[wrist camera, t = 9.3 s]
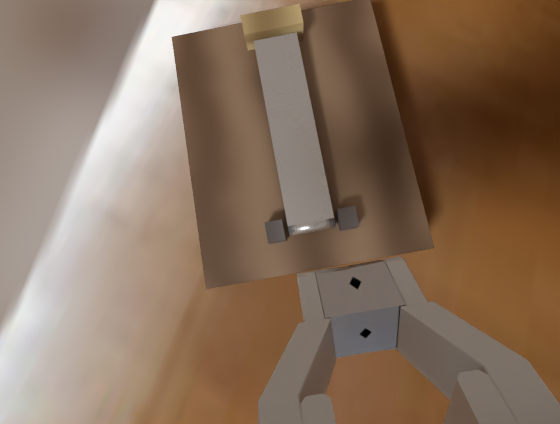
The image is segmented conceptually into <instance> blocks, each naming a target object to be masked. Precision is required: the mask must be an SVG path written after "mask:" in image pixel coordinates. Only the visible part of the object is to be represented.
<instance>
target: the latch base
mask: <svg viewBox="0 0 560 424" xmlns="http://www.w3.org/2000/svg"><path fill="white" fill-rule="evenodd" d="M241 20H242V23H239V24H234V25H229V26H224V27H219V28H214V29H209V30H204V31H199V32H194V33H189V34H184V35H179V36H174V37H172V41H173V49H174V56H175V64H176V71H177V78H178V86H179V93H180V100H181V108H182V115H183V122H184V130H185V137H186V144H187V152H188V159H189V166H190V174H191V181H192V189H193V196H194V203H195V211H196V218H197V225H198V233H199V240H200V247H201V255H202V262H203V269H204V277H205V284H206V289H210V288H215V287H221V286H226V285H232V284H238V283H243V282H249V281H254V280H260V279H265V278H271V277H276V276H282V275H288V274H293V273H299V272H304V271H310V270H315V269H321V268H326V267H332V266H338V265H343V264H349V263H354V262H360V261H365V260H371V259H376V258H382V257H388V256H393V255H399V254H404V253H410V252H415V251H421V250H426V249H432V248H434V245H433V241H432V237H431V233H430V229H429V226H428V222H427V218H426V214H425V210H424V206H423V202H422V198H421V194H420V191H419V187H418V183H417V179H416V175H415V171H414V167H413V163H412V159H411V156H410V152H409V148H408V144H407V140H406V136H405V132H404V128H403V124H402V121H401V117H400V113H399V109H398V105H397V101H396V97H395V93H394V89H393V86H392V82H391V78H390V74H389V70H388V66H387V62H386V58H385V54H384V51H383V47H382V43H381V39H380V35H379V31H378V27H377V23H376V19H375V16H374V12H373V8H372V4H371V0H353V1H348V2H343V3H338V4H333V5H328V6H323V7H318V8H313V9H308V10H303V11H301V9H300V4H295V5H290V6H285V7H280V8H275V9H270V10H265V11H260V12H255V13H251V14H246V15H241ZM296 32H297V36H298V41H299V46H300V51H301V56H302V61H303V66H304V71H305V76H306V81H307V86H308V91H309V96H310V100H311V105H312V110H313V115H314V120H315V125H316V130H317V135H318V140H319V145H320V150H321V155H322V160H323V165H324V170H325V175H326V180H327V185H328V189H329V194H330V199H331V204H332V209H333V214H334V219H335V224H336V228H331V229H325V230H320V231H314V232H309V233H303V234H298V235H292V236H289V231H288V225H287V220H286V214H285V209H284V203H283V198H282V193H281V187H280V182H279V176H278V171H277V165H276V160H275V155H274V149H273V144H272V138H271V133H270V127H269V122H268V116H267V111H266V106H265V100H264V95H263V89H262V84H261V78H260V73H259V67H258V62H257V57H256V51H255V46H254V41H256V40H261V39H266V38H271V37H276V36H281V35H286V34H291V33H296Z"/></svg>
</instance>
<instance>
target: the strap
mask: <svg viewBox="0 0 560 424" xmlns="http://www.w3.org/2000/svg"><path fill="white" fill-rule="evenodd" d="M254 46H255V51H256V57H257V62H258V67H259V73H260V78H261V84H262V89H263V95H264V100H265V106H266V111H267V116H268V122H269V127H270V133H271V138H272V144H273V149H274V155H275V160H276V165H277V171H278V176H279V182H280V187H281V193H282V198H283V203H284V209H285V214H286V220H287V225H288V231H289V236H292V235H298V234H303V233H309V232H314V231H320V230H325V229H331V228H336V224H335V219H334V214H333V209H332V204H331V199H330V194H329V189H328V185H327V180H326V175H325V170H324V165H323V160H322V155H321V150H320V145H319V140H318V135H317V130H316V125H315V120H314V115H313V110H312V105H311V100H310V96H309V91H308V86H307V81H306V76H305V71H304V66H303V61H302V56H301V51H300V46H299V41H298V36H297V32H296V33H291V34H286V35H281V36H276V37H271V38H266V39H261V40H256V41H254Z"/></svg>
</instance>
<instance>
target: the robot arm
mask: <svg viewBox="0 0 560 424" xmlns="http://www.w3.org/2000/svg"><path fill="white" fill-rule="evenodd" d="M297 280H298V287H299V293H300V300H301V306H302V313H303V319H304V322H303V323H299V324H298V326H297V328H296V330H295V331H294V333H293V335H292V337H291V339H290V341H289V343H288V345H287V347H286V349H285V351H284V353H283V355H282V357H281V359H280V361H279V362H278V364H277V366H276V368H275V370H274V372H273V374H272V376H271V378H270V380H269V382H268V384H267V386H266V388H265V390H264V392H263V394H262V395H261V397H260V399H259V401H258V418H259V424H336V422H335V417H334V412H333V407H332V402H331V398H329V397H328V396H326V395H325V393H326V390H327V387H328V384H329V381H330V378H331V375H332V372H333V369H334V366H335V363H336V358H340V357H345V356H350V355H356V354H361V353H366V352H374V351H382V350H389V349H397V351H399V352H400V353H401V354H402V355H403V356H404V357H405V358H406V359H407V360H408V361H409V362H410V363H411V364H412V365H413V366H414V367H416V368H417V369H418V370H419V371H420V372H421V373H422V374H423V375H424V376H425V377H426V378H427V379H428V380H429V381H430V382H431V383H433V384H434V385H435V386H436V387H437V388H438V389H439V390H440V391H441V392H442V393H443V394H444V395H445V396H446V397H447V398H448V399H450V404H449V407H448V410H447V414H446V417H445V420H444V423H443V424H560V404H559V403H558V401H557V400H556V399H555V397H554V396H553V394H552V393H551V392H550V390H549V389H548V388H547V386H546V385H545V383H544V382H543V381H542V379H541V378H540V376H539V375H538V374H537V372H536V371H535V370H534V368H533V367H532V365H531V364H530V363H529V361H528V360H526V359H525V358H523V357H522V356H520V355H518V354H517V353H515V352H514V351H512V350H510V349H509V348H507V347H506V346H504V345H502V344H501V343H499V342H498V341H496V340H494V339H493V338H491V337H490V336H488V335H486V334H485V333H483V332H482V331H480V330H478V329H477V328H475V327H474V326H472V325H470V324H469V323H467V322H466V321H464V320H462V319H461V318H459V317H458V316H456V315H454V314H453V313H451V312H450V311H448V310H446V309H445V308H443V307H442V306H440V305H438V304H437V303H435V302H434V301H431V302H427V300H426V298H425V296H424V295H423V293H422V291H421V289H420V287H419V286H418V284H417V282H416V280H415V278H414V277H413V275H412V273H411V271H410V269H409V267H408V266H407V264H406V262H405V260H404V259H403V258H402V257H395V258H389V259H384V260H377V261H372V262H366V263H361V264H355V265H350V266H346V267H339V268H332V269H325V270H318V271H315V272H314V271H313V272H307V273H300V274H297Z"/></svg>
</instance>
